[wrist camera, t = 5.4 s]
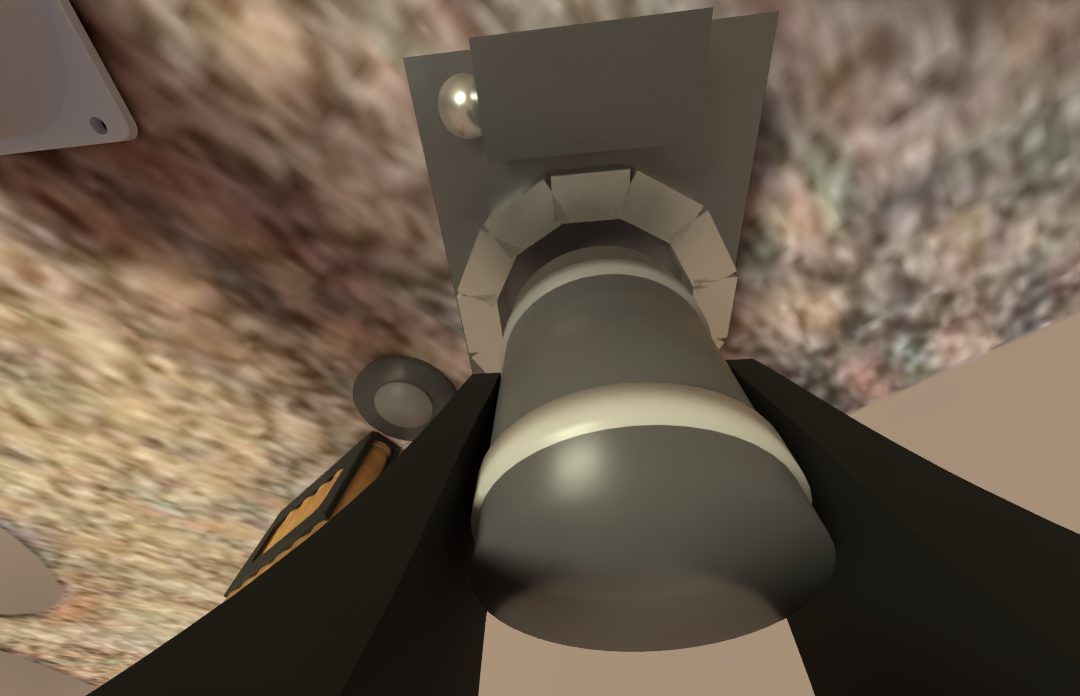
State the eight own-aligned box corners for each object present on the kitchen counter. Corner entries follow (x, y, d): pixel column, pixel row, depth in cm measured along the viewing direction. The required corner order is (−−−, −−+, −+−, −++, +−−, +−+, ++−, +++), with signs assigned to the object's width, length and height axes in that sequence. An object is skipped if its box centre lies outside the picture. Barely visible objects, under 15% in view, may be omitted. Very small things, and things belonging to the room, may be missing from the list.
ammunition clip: (374, 429, 21) (193, 742, 10) (402, 448, 21) (258, 760, 11) (279, 512, 25) (83, 796, 15) (306, 526, 25) (136, 806, 15)
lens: (522, 404, 11) (501, 657, 6) (488, 255, 9) (408, 490, 4) (685, 390, 11) (794, 650, 6) (700, 228, 8) (915, 456, 3)
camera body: (499, 409, 20) (485, 485, 16) (435, 68, 12) (377, 49, 8) (684, 401, 19) (717, 478, 15) (730, 33, 12) (818, -6, 8)
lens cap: (377, 432, 21) (370, 445, 20) (345, 354, 19) (335, 366, 18) (467, 428, 21) (463, 442, 20) (447, 348, 18) (442, 360, 17)
